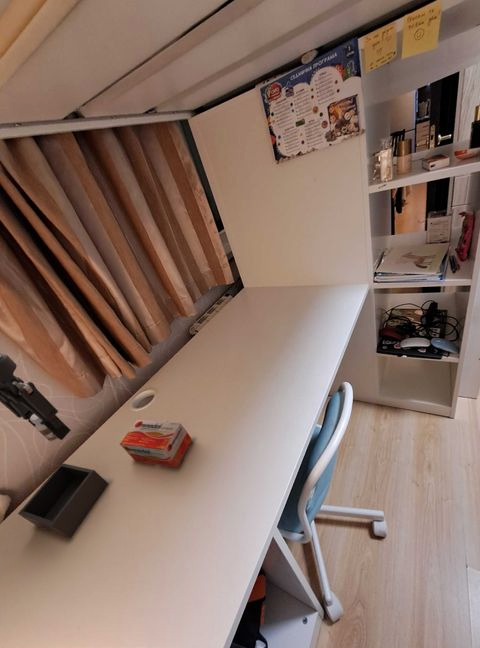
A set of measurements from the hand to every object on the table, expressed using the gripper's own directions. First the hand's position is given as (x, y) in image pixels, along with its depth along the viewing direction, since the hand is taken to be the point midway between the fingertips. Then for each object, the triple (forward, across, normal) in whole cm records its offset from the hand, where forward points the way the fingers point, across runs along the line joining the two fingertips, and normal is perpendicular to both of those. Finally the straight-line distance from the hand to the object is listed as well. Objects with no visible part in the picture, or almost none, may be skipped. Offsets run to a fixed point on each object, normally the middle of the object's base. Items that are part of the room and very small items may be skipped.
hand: (58, 433), depth 71 cm
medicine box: (+16, -18, -8) cm, 26 cm away
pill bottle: (0, 0, 0) cm, 0 cm away
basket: (+16, -1, +9) cm, 19 cm away
